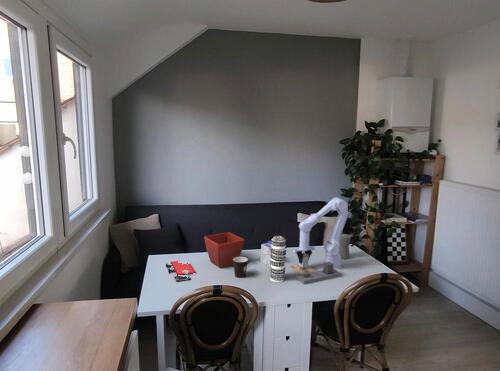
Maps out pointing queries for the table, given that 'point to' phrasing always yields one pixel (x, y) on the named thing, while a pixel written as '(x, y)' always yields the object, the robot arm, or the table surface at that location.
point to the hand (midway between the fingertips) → (303, 262)
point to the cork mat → (303, 269)
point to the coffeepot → (345, 245)
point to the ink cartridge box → (266, 253)
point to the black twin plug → (328, 268)
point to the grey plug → (304, 260)
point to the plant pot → (223, 248)
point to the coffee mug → (240, 266)
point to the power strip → (316, 276)
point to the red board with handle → (181, 270)
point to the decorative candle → (277, 259)
